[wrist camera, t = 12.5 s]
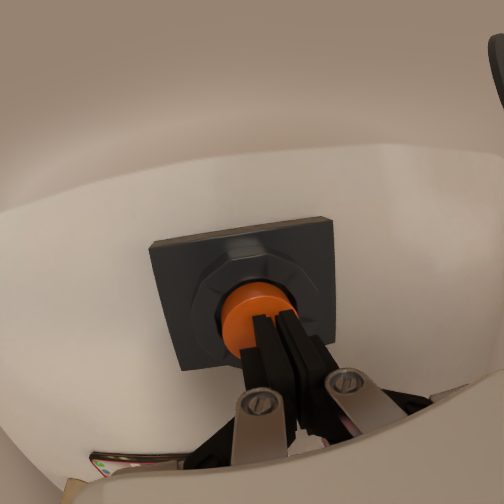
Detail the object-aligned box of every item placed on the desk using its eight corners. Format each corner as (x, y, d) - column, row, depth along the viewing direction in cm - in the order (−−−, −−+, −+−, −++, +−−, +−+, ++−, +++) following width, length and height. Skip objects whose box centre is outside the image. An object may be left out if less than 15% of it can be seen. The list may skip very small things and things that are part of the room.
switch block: (321, 215, 17) (347, 225, 13) (326, 330, 19) (346, 357, 15) (153, 241, 16) (139, 257, 12) (183, 356, 18) (179, 390, 14)
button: (287, 276, 14) (297, 289, 12) (292, 336, 15) (301, 354, 13) (215, 288, 14) (215, 303, 12) (227, 349, 14) (229, 368, 13)
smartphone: (84, 456, 18) (227, 456, 20) (86, 449, 19) (226, 448, 21) (115, 489, 20) (241, 488, 22) (117, 483, 21) (240, 481, 23)
